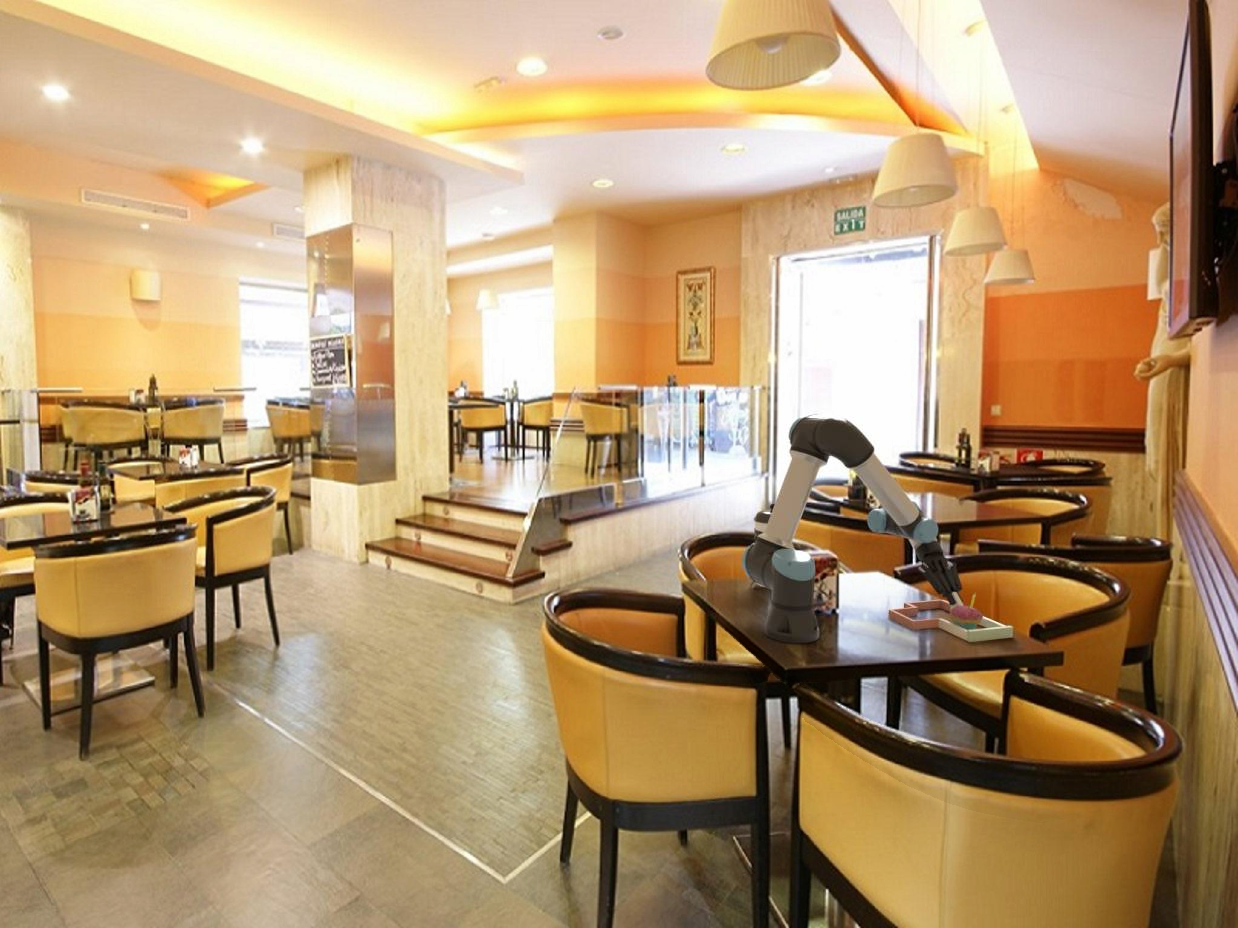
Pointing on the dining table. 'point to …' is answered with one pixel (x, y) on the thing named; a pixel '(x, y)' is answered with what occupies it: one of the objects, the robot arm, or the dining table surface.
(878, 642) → the dining table surface
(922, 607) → the track
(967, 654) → the dining table surface
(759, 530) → the coffee press
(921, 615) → the dining table surface
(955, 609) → the cupcake
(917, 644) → the dining table surface
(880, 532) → the robot arm
